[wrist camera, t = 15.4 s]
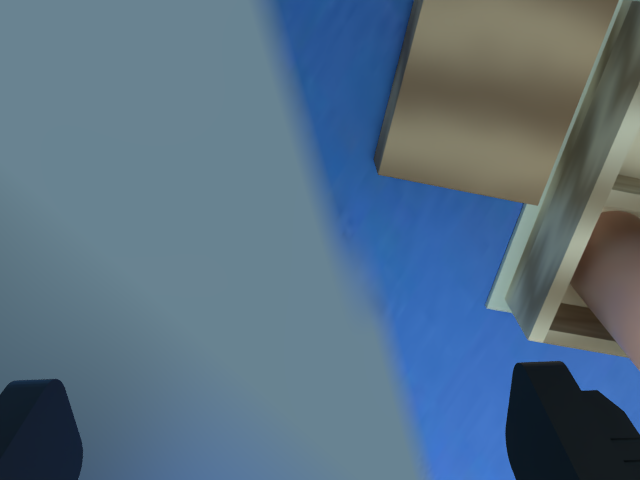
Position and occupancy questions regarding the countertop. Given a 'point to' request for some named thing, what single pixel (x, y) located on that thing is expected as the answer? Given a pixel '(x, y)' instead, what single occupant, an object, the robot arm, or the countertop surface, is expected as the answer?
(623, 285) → the pink cylinder
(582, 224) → the caddy
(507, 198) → the board
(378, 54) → the countertop surface
